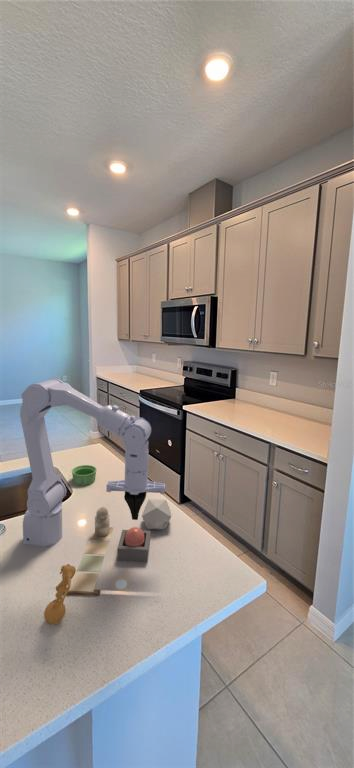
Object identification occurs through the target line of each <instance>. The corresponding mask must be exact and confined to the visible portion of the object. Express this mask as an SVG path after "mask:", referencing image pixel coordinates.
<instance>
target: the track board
mask: <svg viewBox="0 0 354 768" xmlns="http://www.w3.org/2000/svg"><path fill="white" fill-rule="evenodd" d="M113 531H114V527H113V526H112V527H111V526H109V534H108V535H107V536H105V537H97V536H96V535H95V527H94V528H93V530H92V533H91V536H90V538H89V541H88V543H87V546H86V548H85V550H84V553H83V554H84V555H82V557H81V560H80V562H79V564H78V567H77V569H76V572H75V574H74V576H73V578H72V581H71V586H70V589H69V591H68V593H67V595H69V596H70V595H71V596H72V595H73V596H94V597H97V596H100V593H101V589H95V588H96V585H97V582H98V579H99V575H100V572H101V568H102V567H103V566H102V565H103V562H104V558H105V555H106V553H107V549H108V547H109V544H110V539H111V538H112V533H113ZM96 572H97V573H96ZM65 592H66V590H65ZM65 592H64V593H65ZM64 593H62V594H63V595H64ZM67 595H66V596H67Z"/></svg>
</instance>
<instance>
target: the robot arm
mask: <svg viewBox="0 0 354 768" xmlns="http://www.w3.org/2000/svg"><path fill="white" fill-rule="evenodd" d="M20 397H21V400H22V401H21V406H20V410H19V417H20V422H21V428H22V432H23V436H24V437H23V438H24V442H25V446H26V447H25V448H26V453H27V457H28V462H29V466H30V471H31V477H32V479H31V481H30V482H31V483H30V484H29V487H28V489H27V500H26V508H27V510H26V511H25V513H24V516H23V518H22V519H23V520H22V539H23V540H22V541H23V542H22V543H23V545H33V546H34V545H35V546H39V547H49V546H53V545H56V544H57V543H59V542H60V541H61V540H62V539H63V499H64V498H65V497H66V496H67V488H66V485H65V484H64V482H63V480H62V477H61V474H59V473H58V472H55V467H54V463H53V457H52V452H51V447H50V440H49V435H48V432H47V426H46V421H45V416H46V415H47V413H49V411H50V410H51V408H55V407H61V406H69V407H70V408H73V409H75V410H77V411H79V412H81V413H83V414H85V415H88V416H89V417H92V418H94V419H95V420H96V424H97V425H98V426H99V427H101V428H102V429H104V430H106V431H108V432H110V433H112V434H114V435H115V436H117V437H119V438H121V440H122V442H123V444H124V445H125V451H124V453H125V454H124V479H121V480H112V481H111V480H109V481H107V483H106V487H105V488H106V492H107V493H111V492H124V494H123V495H124V497H123V498H124V502H126V504H127V506H128V508H129V511H130V515H131V519H132V521H133V520H135V521H138V519H139V516H140V515H139V514H140V511H141V508H142V506H143V504H144V502H145V500H146V497H147V494H148V493H154V494H155V493H156V494H159V495H165V491H166V490H165V489H166V484H165V483H161V482H157V481H156V482H155V481H150V480H148V479H149V478H148V477H149V438H150V436H151V434H152V426H151V424H150V422H149V421H147V420H146V419H145V418H144V417H136V416H135V415H133V414H132V415H130V414H128V413H126V412H124V411H123V410H120V407H119V406H118V405H116V404H114V405H111V404H108V405H105V406H103V405H101V404H100V403H98V402H96V401H95V400H93V399H91V398H90V397H88V396H86V395H85V394H83V393H81V392H80V391H78V390H76V388H73V387H72V386H71V385H70V384H69V383H68V382H65V381H64V382H63V381H62V379H59V378H55V377H54V378H50V379H48V380H44V381H41V382H38V383H32V384H30V385H28V386H27V387H26V388H25V390H24V391H22V393H21V396H20Z"/></svg>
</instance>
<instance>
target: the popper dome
mask: <svg viewBox="0 0 354 768" xmlns="http://www.w3.org/2000/svg"><path fill="white" fill-rule="evenodd" d="M127 530H128V531H127V533H126V535H125V546H134V547H144V546H145V545H144V533H143V531H144V530H142V529H141V528H140V527H137V526H133V527H131V528H129V529H127Z"/></svg>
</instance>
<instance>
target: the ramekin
mask: <svg viewBox="0 0 354 768" xmlns="http://www.w3.org/2000/svg"><path fill="white" fill-rule="evenodd" d="M71 473H72V475H71V476H72V481H73V482H72V483H74V484H75V485H77V484H78V485H77V486H89V485H91V484H93V483H94V482H95V481H96V475H97V474H96V473H97V468H96V467H95V466H94V465H89V464H83V465H78V466H75V467H73V468H72V469H71Z"/></svg>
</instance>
